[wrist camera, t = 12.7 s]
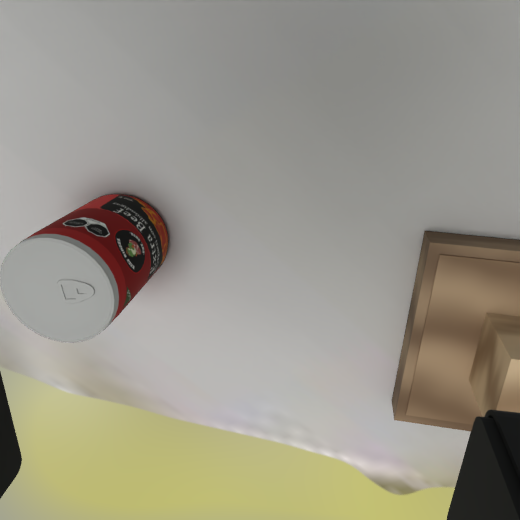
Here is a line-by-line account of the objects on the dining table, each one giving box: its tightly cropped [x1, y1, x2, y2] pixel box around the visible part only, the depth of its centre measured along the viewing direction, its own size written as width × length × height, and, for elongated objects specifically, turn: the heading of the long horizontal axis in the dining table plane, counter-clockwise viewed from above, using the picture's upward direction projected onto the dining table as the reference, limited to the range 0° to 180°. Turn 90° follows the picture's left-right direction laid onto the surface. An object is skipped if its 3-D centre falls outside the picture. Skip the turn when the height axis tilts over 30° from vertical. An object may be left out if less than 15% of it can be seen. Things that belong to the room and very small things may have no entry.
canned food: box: [0, 195, 168, 343], centre depth 36 cm, size 8×8×11 cm
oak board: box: [392, 231, 520, 431], centre depth 38 cm, size 16×16×3 cm
